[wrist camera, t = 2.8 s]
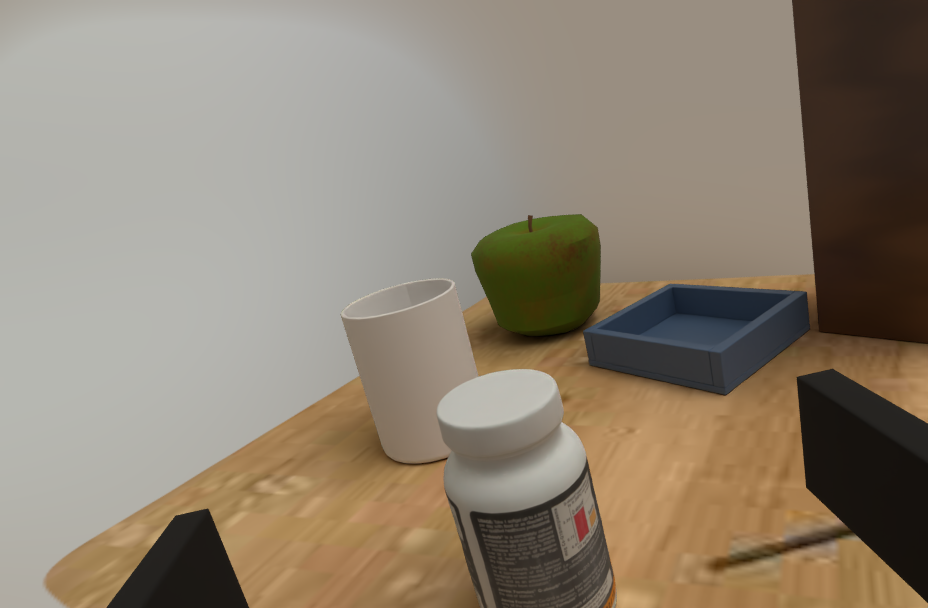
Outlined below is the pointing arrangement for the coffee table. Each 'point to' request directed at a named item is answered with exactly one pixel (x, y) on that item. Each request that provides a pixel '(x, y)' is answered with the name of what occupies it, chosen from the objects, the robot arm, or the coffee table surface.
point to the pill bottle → (523, 495)
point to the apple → (541, 273)
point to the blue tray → (699, 334)
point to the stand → (867, 162)
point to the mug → (410, 362)
